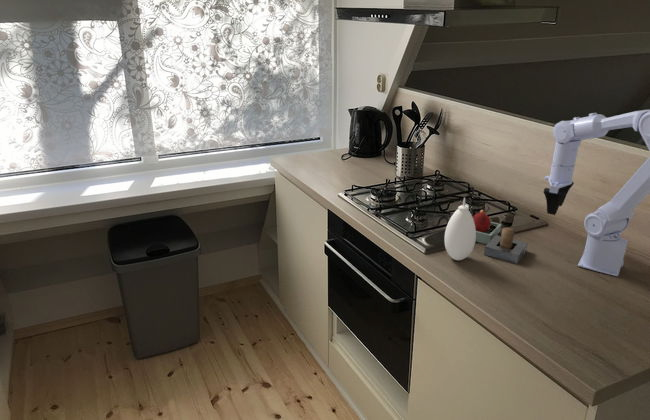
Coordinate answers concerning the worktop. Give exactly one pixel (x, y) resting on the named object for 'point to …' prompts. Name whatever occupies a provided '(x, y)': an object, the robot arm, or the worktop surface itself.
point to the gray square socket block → (505, 250)
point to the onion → (481, 222)
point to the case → (488, 237)
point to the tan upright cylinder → (507, 238)
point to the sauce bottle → (460, 233)
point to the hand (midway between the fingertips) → (554, 209)
